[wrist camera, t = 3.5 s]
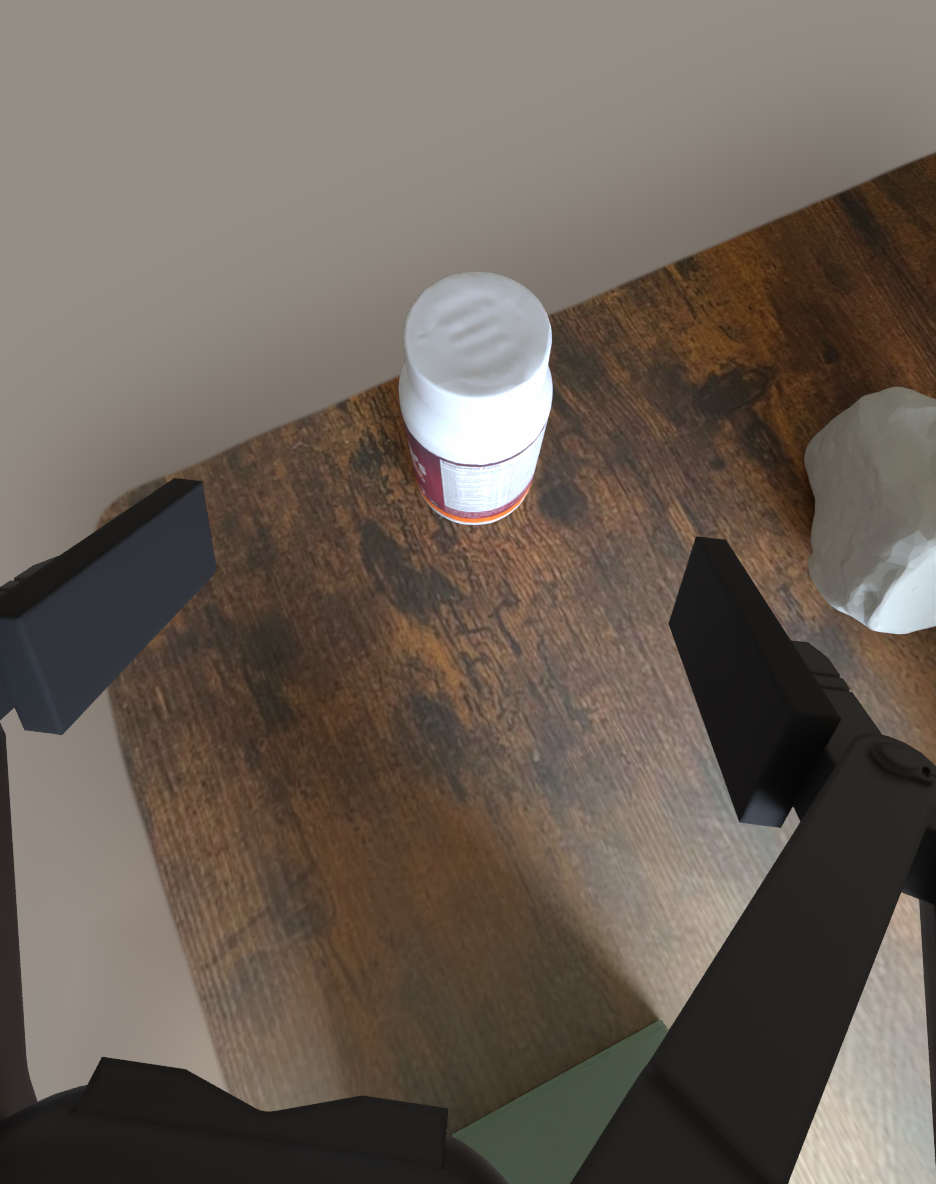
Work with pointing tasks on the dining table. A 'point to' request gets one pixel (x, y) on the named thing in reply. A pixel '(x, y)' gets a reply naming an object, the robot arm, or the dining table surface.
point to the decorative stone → (877, 511)
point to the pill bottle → (475, 394)
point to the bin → (562, 1114)
